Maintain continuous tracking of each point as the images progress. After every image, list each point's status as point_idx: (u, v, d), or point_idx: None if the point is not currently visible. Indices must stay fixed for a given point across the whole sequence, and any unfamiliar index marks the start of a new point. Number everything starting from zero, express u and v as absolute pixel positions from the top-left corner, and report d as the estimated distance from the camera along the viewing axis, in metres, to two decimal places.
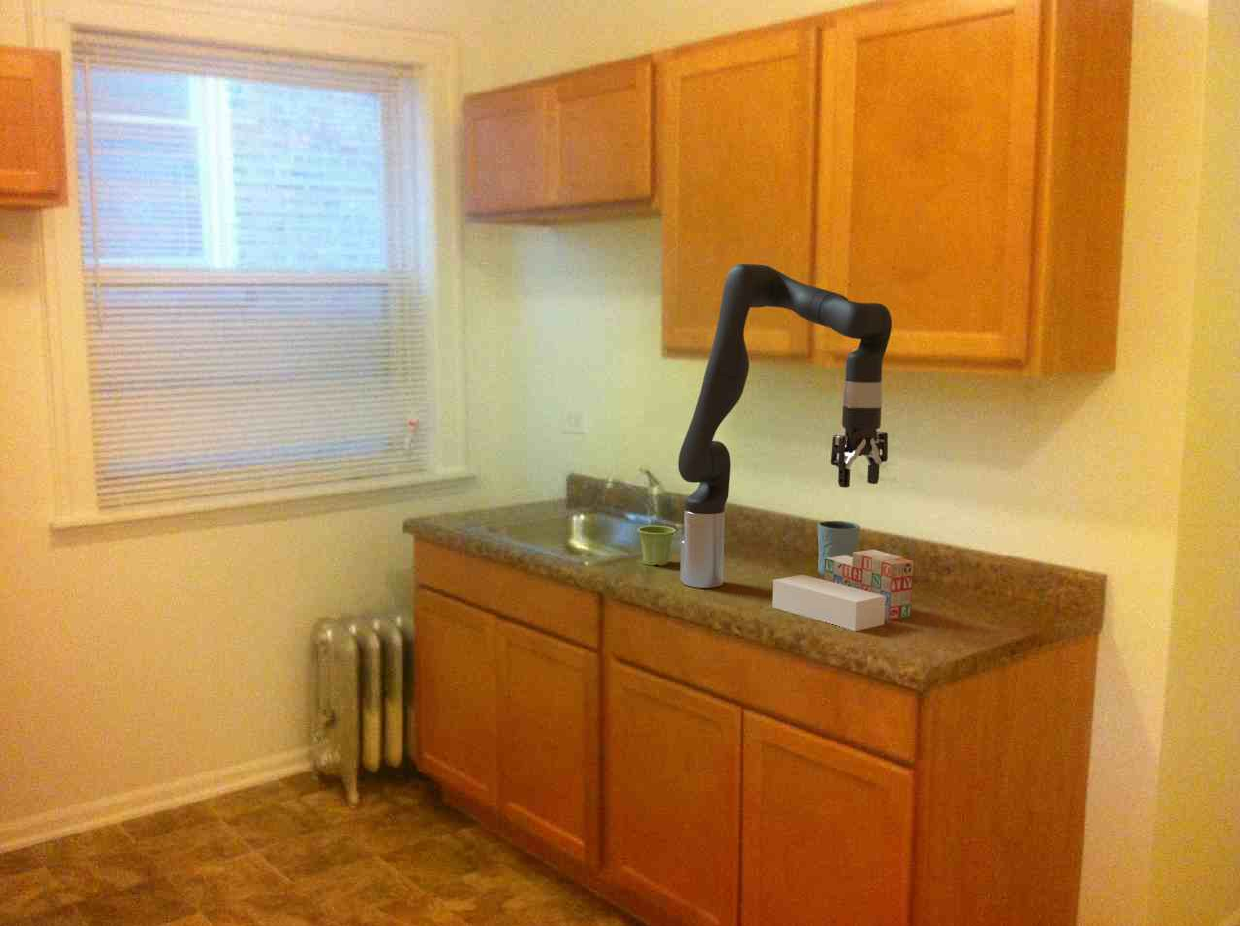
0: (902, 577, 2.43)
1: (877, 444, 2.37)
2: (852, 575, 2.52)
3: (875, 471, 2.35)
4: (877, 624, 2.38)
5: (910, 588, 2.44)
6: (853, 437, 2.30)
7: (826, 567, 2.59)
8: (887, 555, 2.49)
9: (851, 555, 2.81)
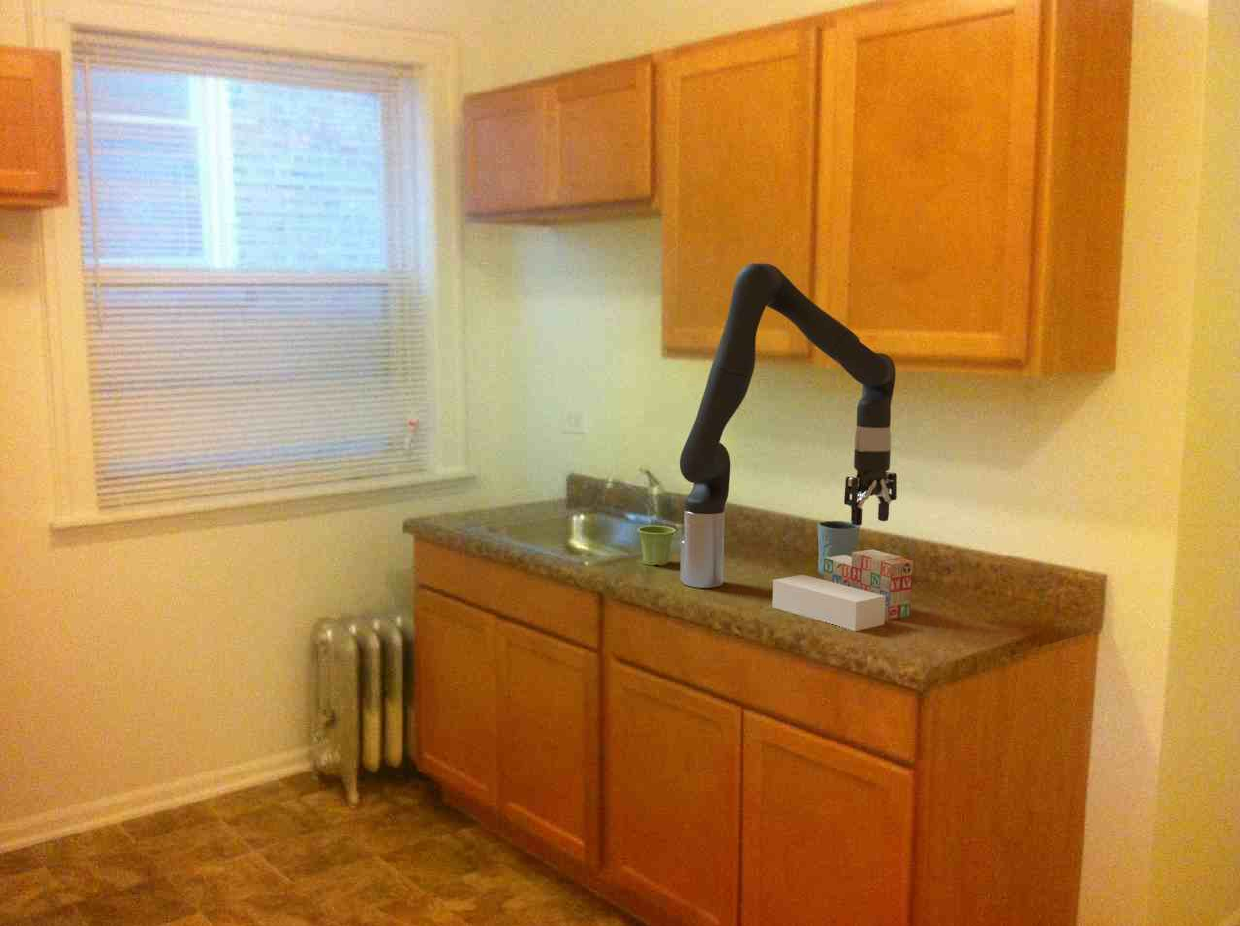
0: (901, 577, 2.43)
1: (887, 484, 2.53)
2: (851, 575, 2.52)
3: (886, 509, 2.52)
4: (877, 624, 2.38)
5: (909, 588, 2.45)
6: (865, 478, 2.46)
7: (826, 567, 2.59)
8: (886, 555, 2.49)
9: (851, 555, 2.81)
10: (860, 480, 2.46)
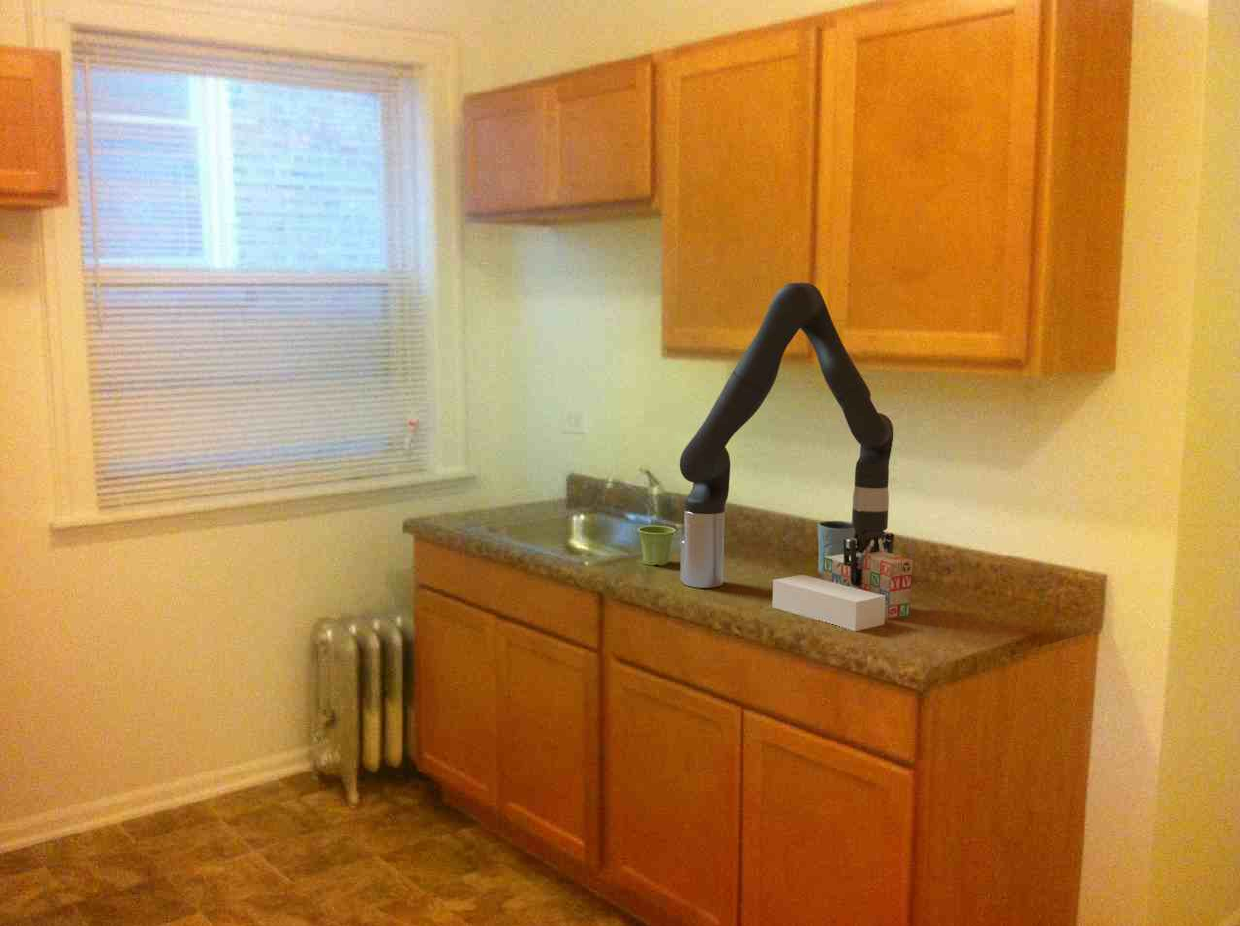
0: (901, 576, 2.43)
1: (883, 543, 2.55)
2: None
3: None
4: (877, 624, 2.38)
5: (909, 587, 2.45)
6: (862, 538, 2.48)
7: (825, 566, 2.59)
8: (886, 554, 2.49)
9: None
10: (858, 540, 2.48)
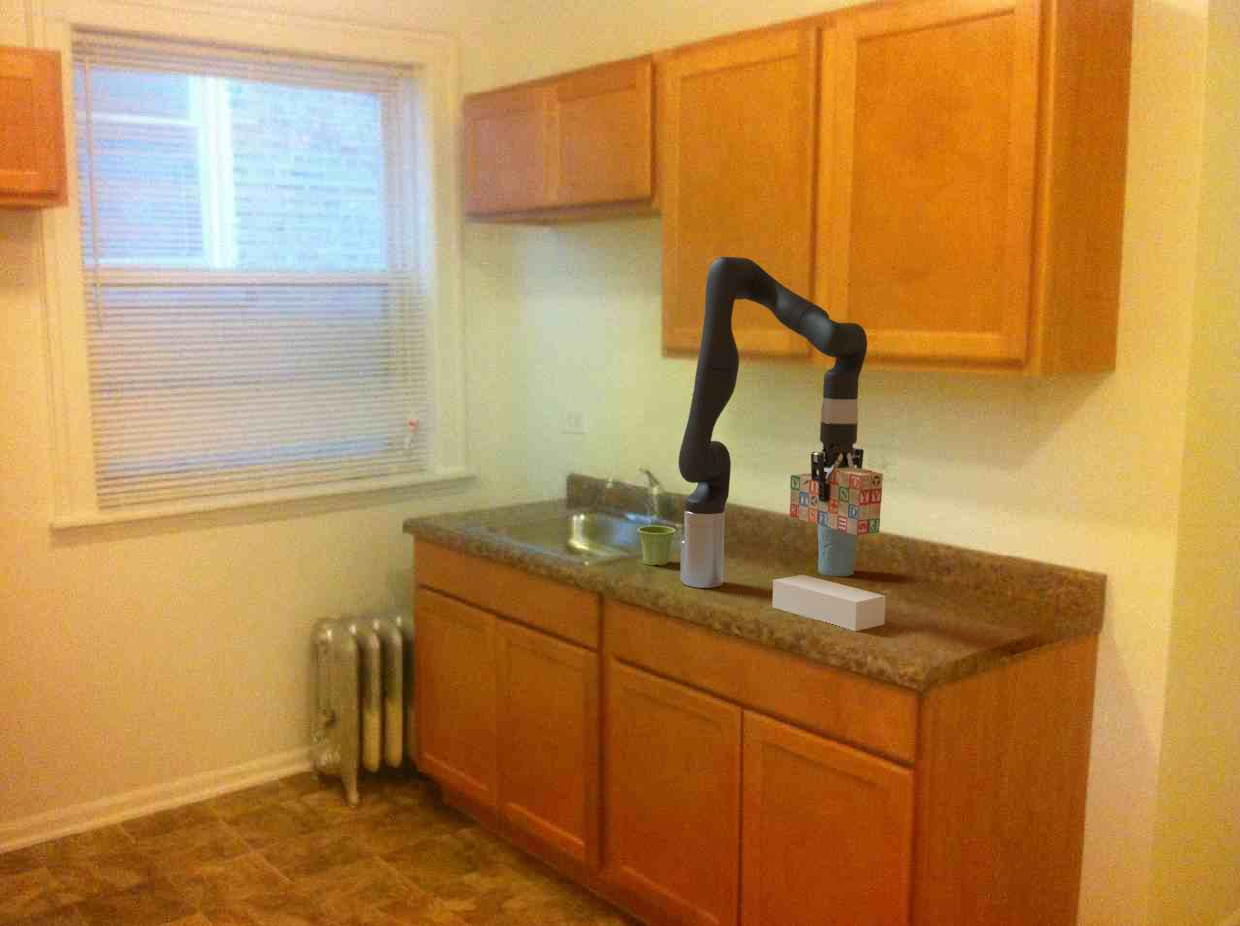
0: (871, 489, 2.34)
1: (852, 460, 2.46)
2: None
3: None
4: (877, 624, 2.38)
5: (879, 501, 2.36)
6: (830, 452, 2.39)
7: (792, 485, 2.50)
8: None
9: (851, 555, 2.81)
10: (826, 453, 2.39)
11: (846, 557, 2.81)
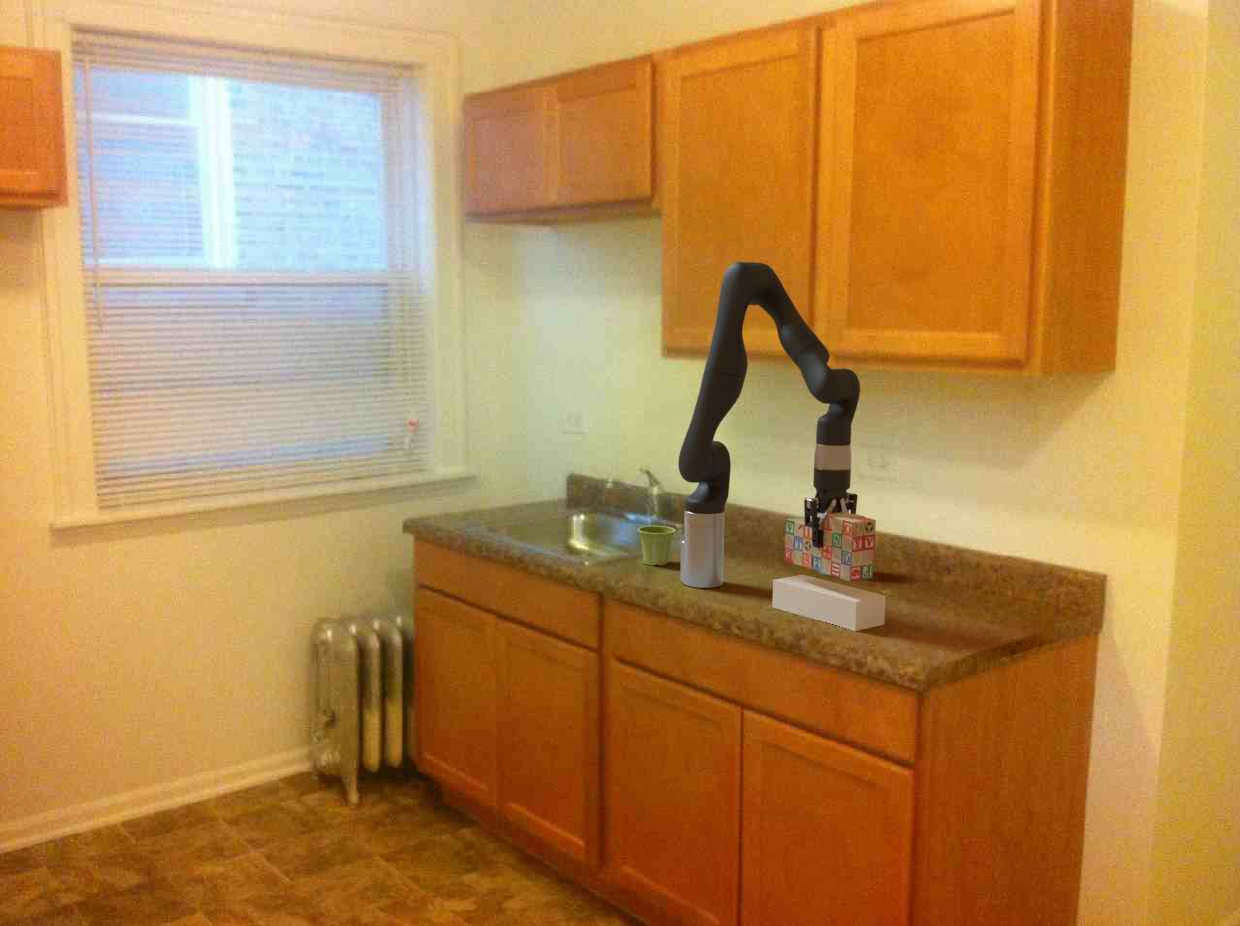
0: (863, 536, 2.34)
1: (846, 504, 2.46)
2: None
3: None
4: (877, 624, 2.38)
5: (872, 548, 2.36)
6: (823, 498, 2.39)
7: (787, 529, 2.50)
8: (848, 514, 2.40)
9: None
10: (819, 499, 2.39)
11: None
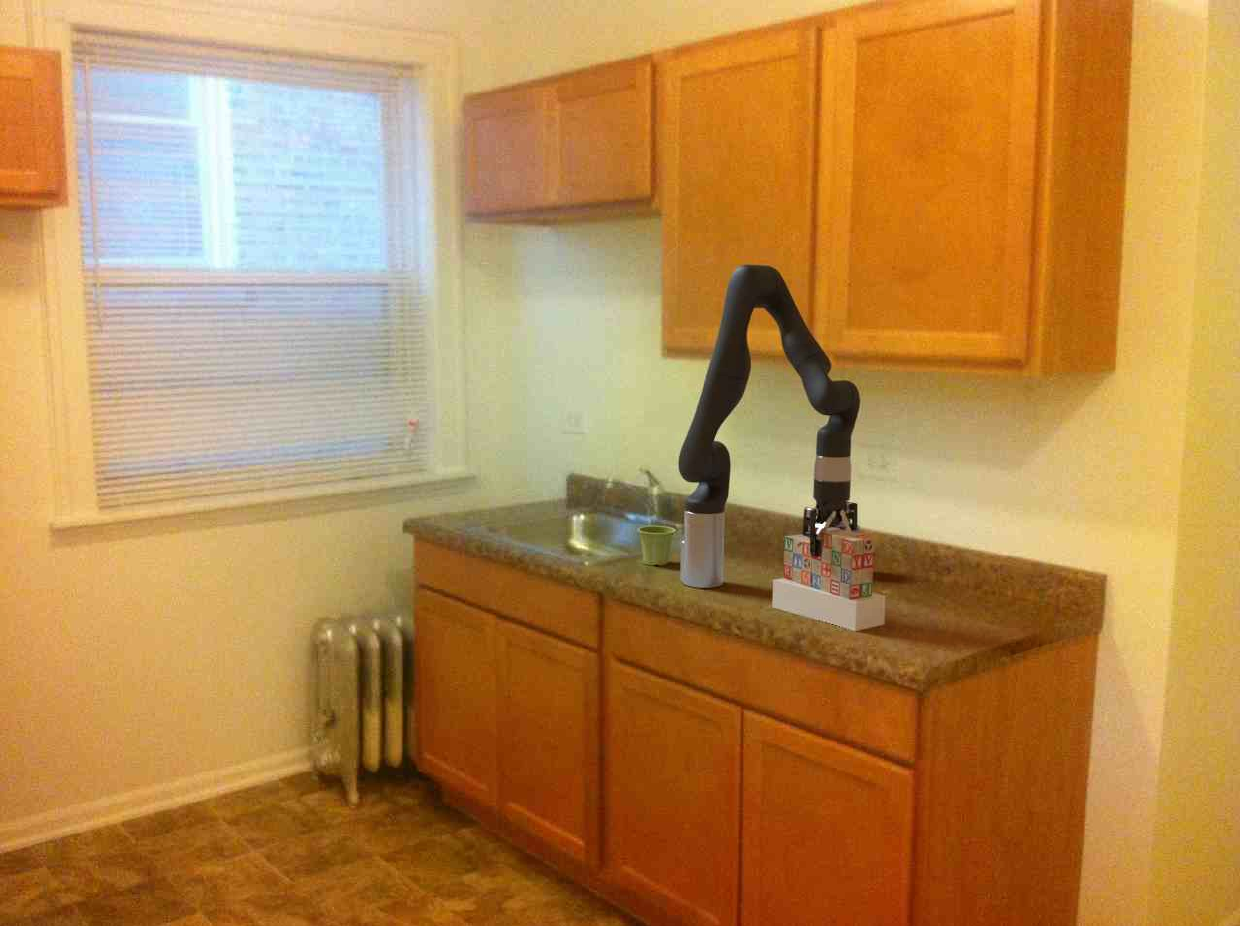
0: (863, 554, 2.35)
1: (847, 514, 2.46)
2: None
3: None
4: (877, 624, 2.38)
5: (871, 566, 2.37)
6: (823, 509, 2.39)
7: (786, 546, 2.51)
8: (848, 532, 2.41)
9: None
10: (819, 511, 2.39)
11: None
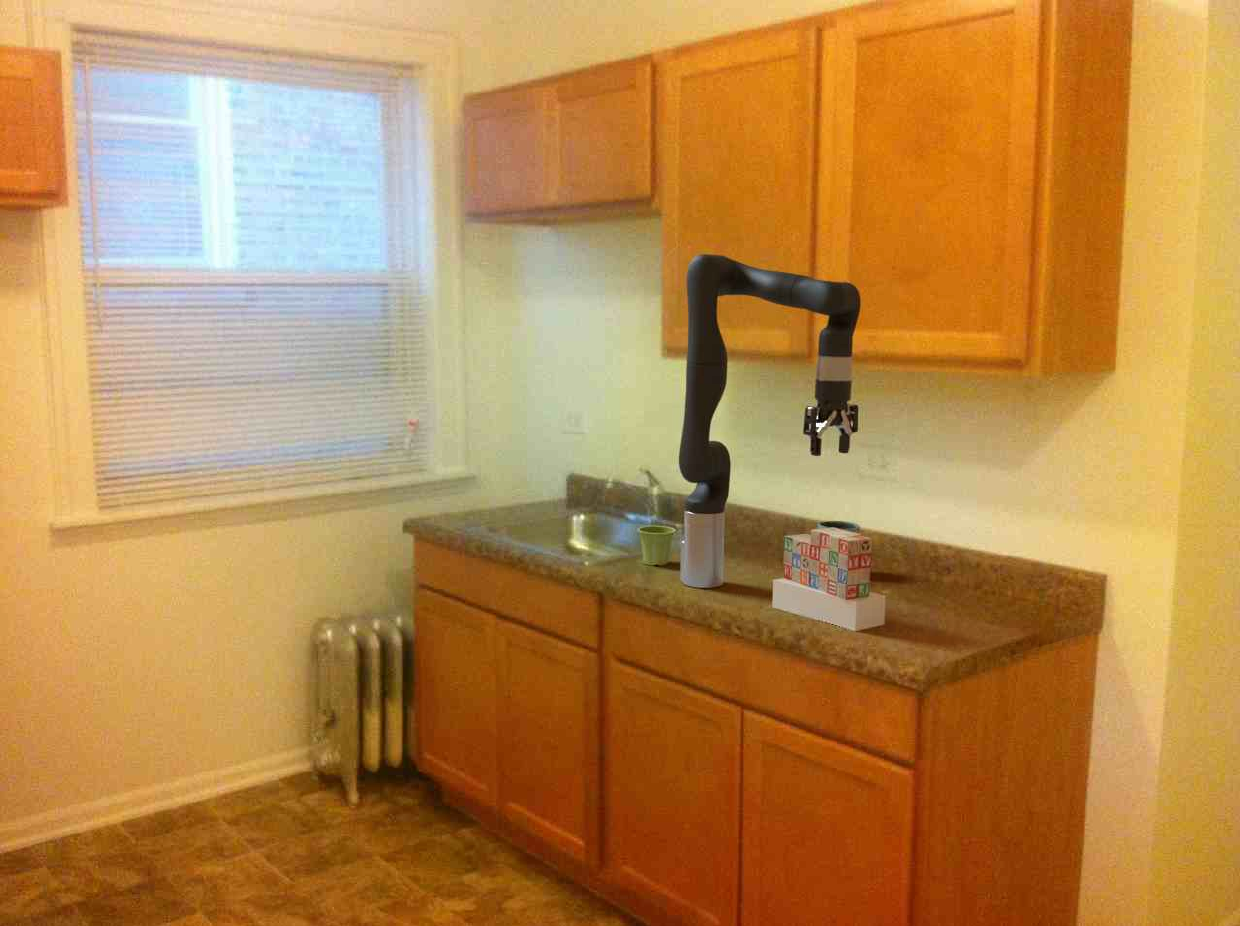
0: (860, 555, 2.35)
1: (848, 416, 2.51)
2: (810, 553, 2.44)
3: (846, 441, 2.49)
4: (877, 624, 2.38)
5: (868, 566, 2.36)
6: (824, 408, 2.44)
7: (785, 546, 2.51)
8: (846, 532, 2.41)
9: None
10: (820, 410, 2.44)
11: None
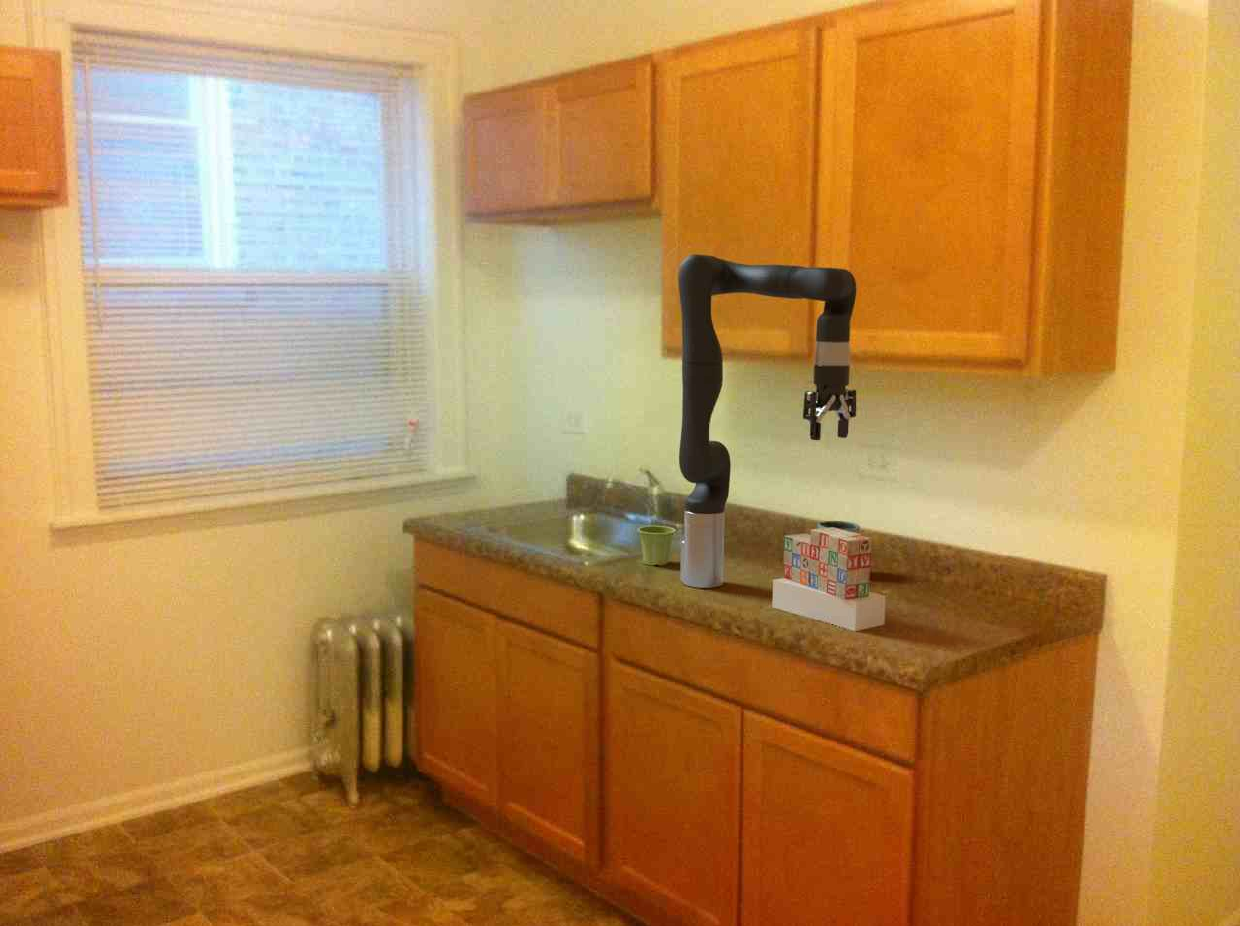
0: (859, 554, 2.35)
1: (846, 401, 2.54)
2: (810, 553, 2.44)
3: (845, 425, 2.53)
4: (877, 624, 2.38)
5: (868, 566, 2.36)
6: (823, 393, 2.47)
7: (785, 546, 2.51)
8: (845, 532, 2.41)
9: None
10: (819, 395, 2.47)
11: None
